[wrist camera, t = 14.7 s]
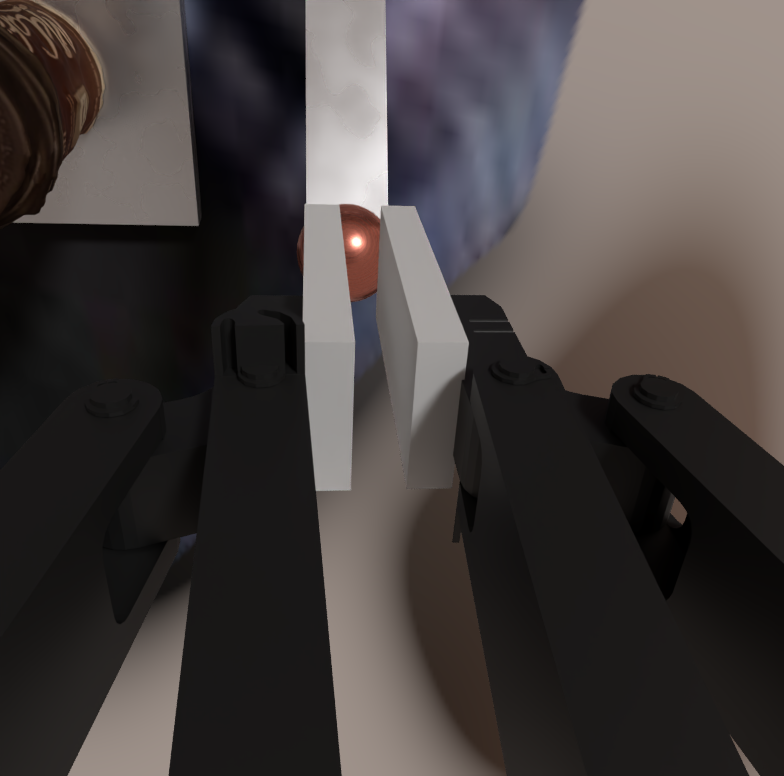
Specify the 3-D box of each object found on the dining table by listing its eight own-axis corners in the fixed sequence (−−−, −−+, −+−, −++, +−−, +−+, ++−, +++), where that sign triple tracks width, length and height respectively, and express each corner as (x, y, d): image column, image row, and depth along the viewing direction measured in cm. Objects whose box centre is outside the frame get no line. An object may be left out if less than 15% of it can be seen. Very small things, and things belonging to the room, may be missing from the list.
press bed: (-157, -107, 32) (-176, -109, 31) (177, -86, 33) (172, -87, 32) (-70, 211, 39) (-83, 220, 38) (202, 217, 40) (198, 225, 39)
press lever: (287, -126, 25) (284, -203, 22) (394, -118, 25) (405, -193, 22) (288, 310, 24) (285, 291, 21) (399, 310, 24) (412, 292, 21)
